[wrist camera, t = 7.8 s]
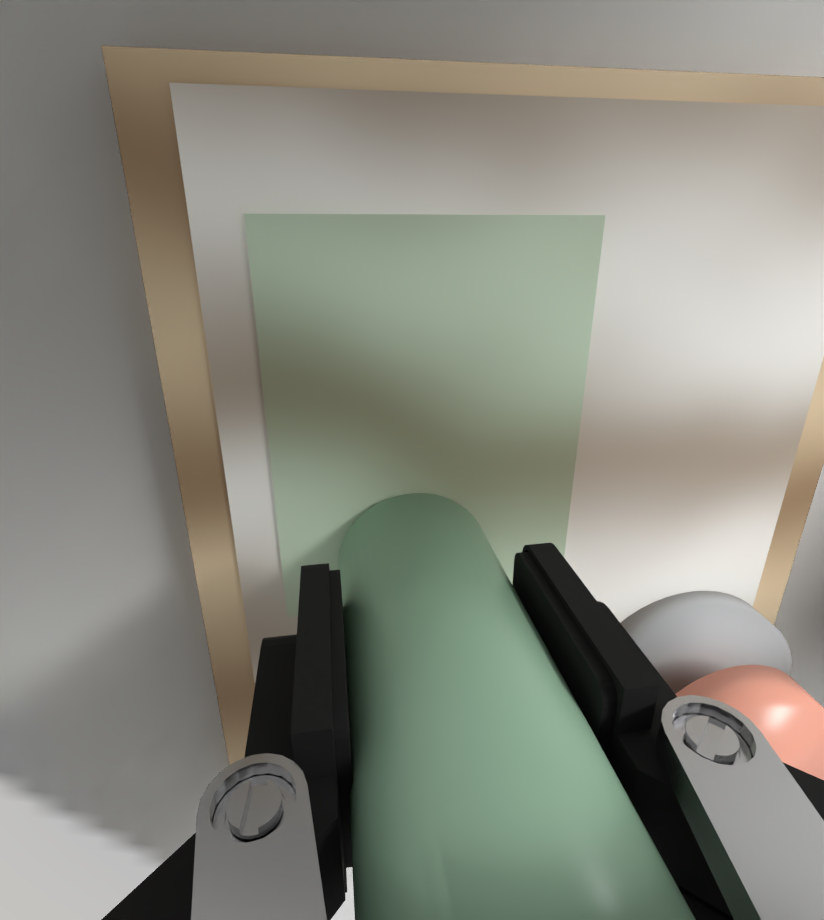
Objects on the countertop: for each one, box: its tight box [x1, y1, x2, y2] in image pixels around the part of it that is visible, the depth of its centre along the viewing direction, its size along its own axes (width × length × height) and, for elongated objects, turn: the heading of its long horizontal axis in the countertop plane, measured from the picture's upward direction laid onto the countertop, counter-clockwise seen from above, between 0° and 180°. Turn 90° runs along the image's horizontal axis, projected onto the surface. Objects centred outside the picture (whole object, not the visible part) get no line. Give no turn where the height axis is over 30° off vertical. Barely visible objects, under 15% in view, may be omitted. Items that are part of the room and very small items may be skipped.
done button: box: [676, 665, 824, 780], centre depth 14 cm, size 5×5×1 cm
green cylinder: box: [338, 493, 696, 920], centre depth 8 cm, size 4×4×11 cm
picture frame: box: [101, 46, 824, 766], centre depth 13 cm, size 18×16×2 cm
